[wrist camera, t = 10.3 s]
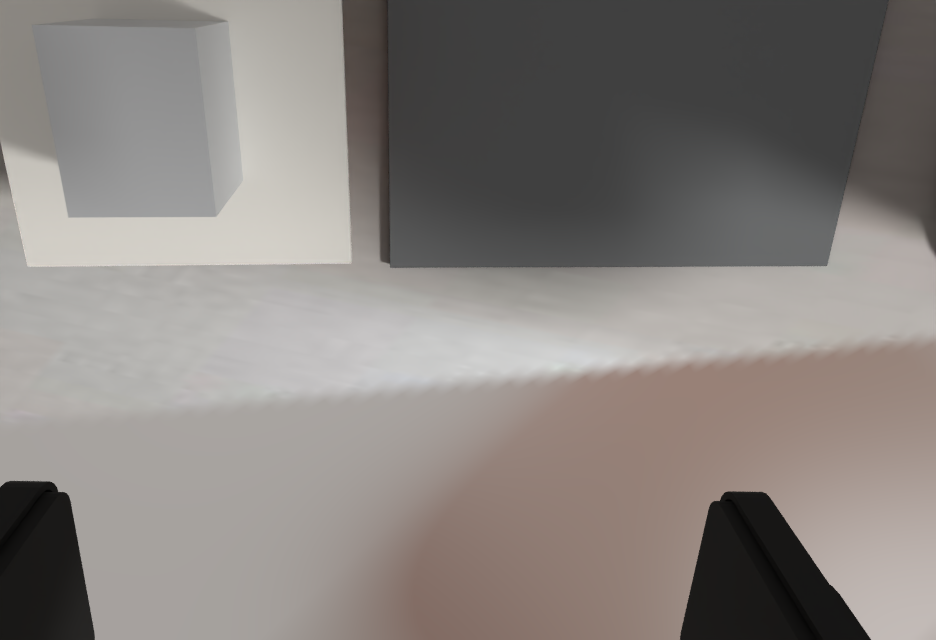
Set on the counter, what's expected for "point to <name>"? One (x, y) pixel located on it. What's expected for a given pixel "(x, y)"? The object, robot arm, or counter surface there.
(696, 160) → the mat
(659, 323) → the counter surface
